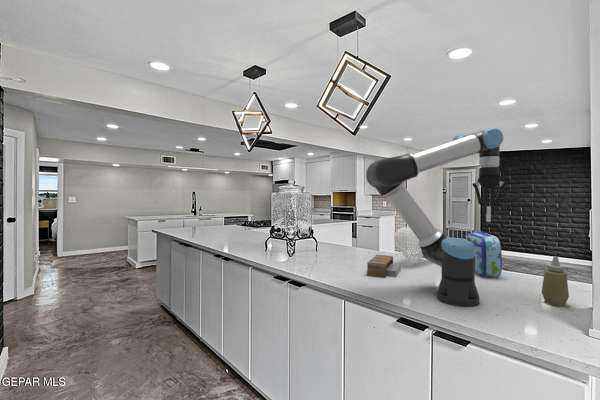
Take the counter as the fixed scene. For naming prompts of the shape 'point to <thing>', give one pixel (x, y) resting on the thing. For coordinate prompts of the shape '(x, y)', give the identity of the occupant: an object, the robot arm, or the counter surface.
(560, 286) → the squeeze bottle
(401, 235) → the heart
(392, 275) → the panel
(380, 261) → the walnut tunnel
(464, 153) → the robot arm
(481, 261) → the lunch box
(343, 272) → the counter surface
